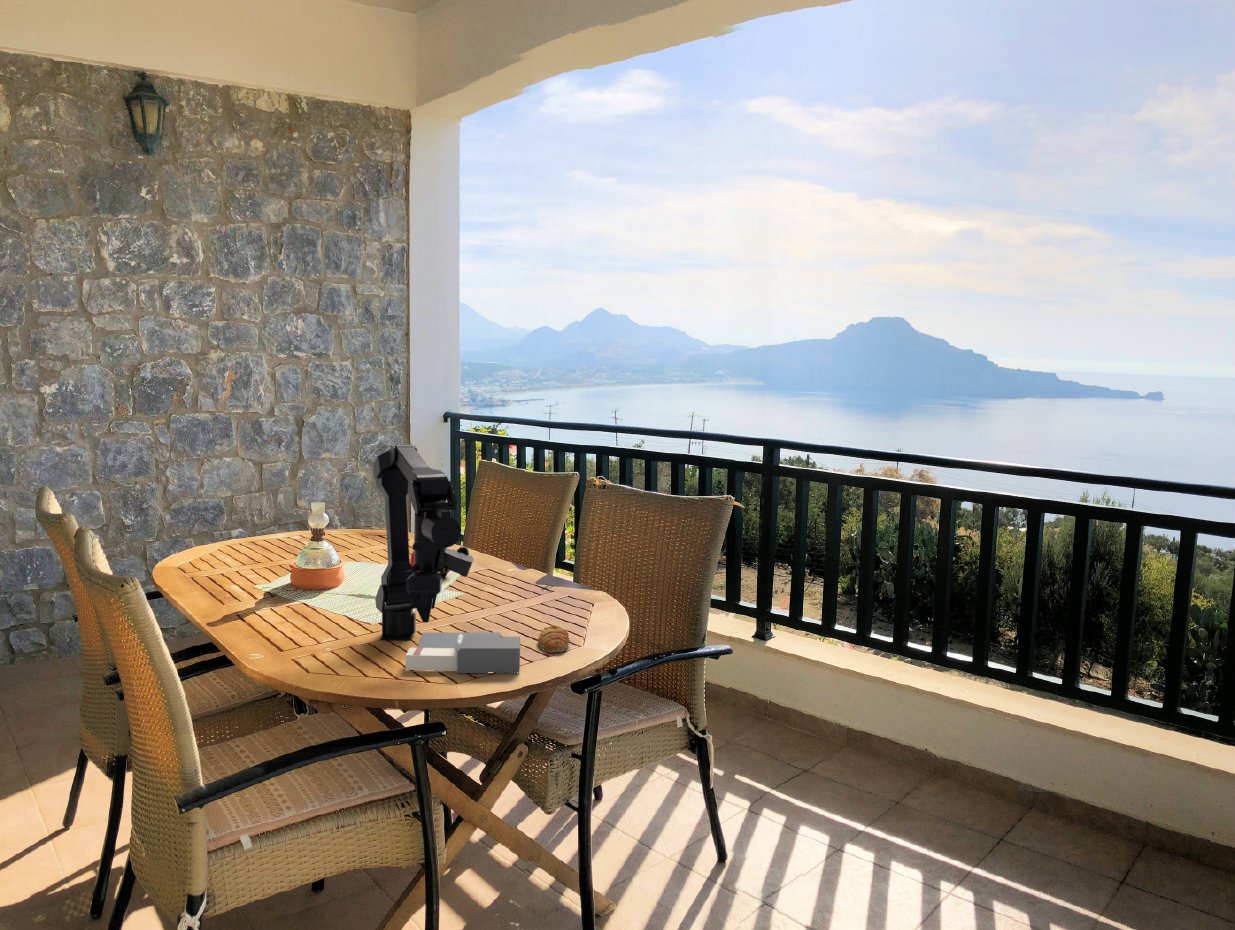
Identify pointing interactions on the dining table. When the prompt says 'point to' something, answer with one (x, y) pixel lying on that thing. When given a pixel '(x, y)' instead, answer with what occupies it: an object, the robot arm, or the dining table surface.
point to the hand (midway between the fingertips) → (428, 615)
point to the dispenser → (488, 654)
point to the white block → (431, 659)
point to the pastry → (553, 639)
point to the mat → (449, 638)
